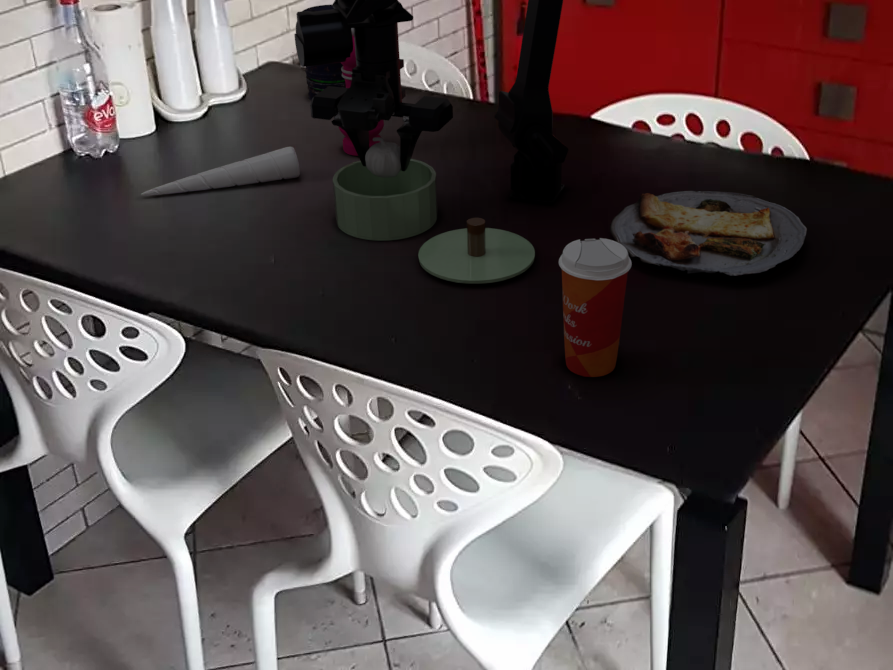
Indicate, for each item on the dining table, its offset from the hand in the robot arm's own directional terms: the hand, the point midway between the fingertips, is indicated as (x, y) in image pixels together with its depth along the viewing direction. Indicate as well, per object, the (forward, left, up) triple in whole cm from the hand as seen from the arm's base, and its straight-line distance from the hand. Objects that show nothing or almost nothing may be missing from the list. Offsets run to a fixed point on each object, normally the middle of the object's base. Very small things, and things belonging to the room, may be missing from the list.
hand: (384, 167), depth 160 cm
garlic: (0, 0, -1) cm, 1 cm away
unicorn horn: (+28, -2, -8) cm, 29 cm away
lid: (-16, +8, -7) cm, 20 cm away
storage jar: (+31, -44, -8) cm, 55 cm away
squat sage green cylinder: (0, 0, -8) cm, 8 cm away
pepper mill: (+15, -22, -8) cm, 28 cm away
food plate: (-43, -6, -8) cm, 45 cm away
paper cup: (-37, +28, -8) cm, 47 cm away
